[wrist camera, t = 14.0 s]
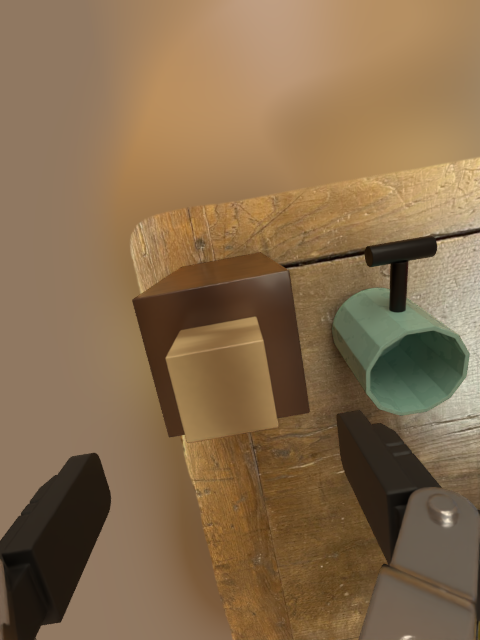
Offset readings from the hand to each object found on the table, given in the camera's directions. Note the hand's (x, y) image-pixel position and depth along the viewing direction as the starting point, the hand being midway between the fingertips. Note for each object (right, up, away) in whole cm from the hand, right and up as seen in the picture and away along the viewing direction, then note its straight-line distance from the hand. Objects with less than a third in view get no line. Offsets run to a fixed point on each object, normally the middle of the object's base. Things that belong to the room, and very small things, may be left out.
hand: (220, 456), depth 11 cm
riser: (-1, +7, +27) cm, 28 cm away
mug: (+15, +7, +26) cm, 31 cm away
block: (0, +2, +9) cm, 9 cm away
